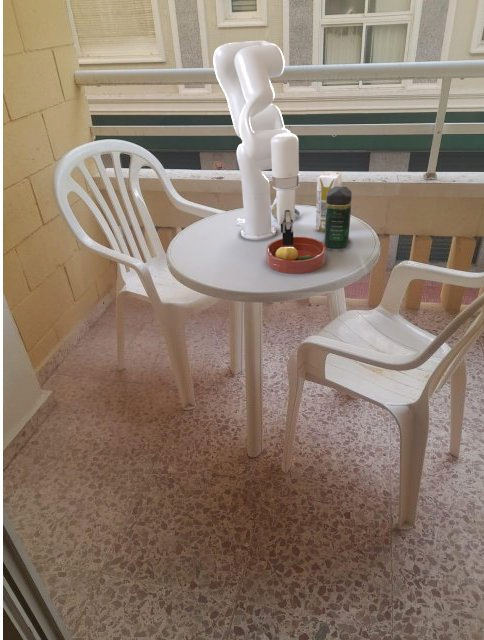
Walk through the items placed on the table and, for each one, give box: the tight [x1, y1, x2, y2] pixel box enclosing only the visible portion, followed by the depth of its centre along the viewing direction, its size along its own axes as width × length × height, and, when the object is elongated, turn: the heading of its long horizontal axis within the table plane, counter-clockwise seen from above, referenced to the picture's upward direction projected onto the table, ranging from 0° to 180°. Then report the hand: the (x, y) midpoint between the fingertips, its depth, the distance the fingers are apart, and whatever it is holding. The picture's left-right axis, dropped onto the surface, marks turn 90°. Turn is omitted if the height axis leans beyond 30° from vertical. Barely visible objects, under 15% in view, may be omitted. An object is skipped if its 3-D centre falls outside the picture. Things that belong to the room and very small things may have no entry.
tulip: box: [276, 247, 315, 261], centre depth 142 cm, size 13×5×4 cm, turn 90°
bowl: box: [265, 235, 327, 275], centre depth 142 cm, size 18×18×4 cm
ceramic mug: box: [271, 197, 301, 220], centre depth 172 cm, size 11×8×8 cm
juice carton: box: [315, 171, 343, 232], centre depth 158 cm, size 8×9×19 cm
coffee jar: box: [323, 186, 353, 250], centre depth 147 cm, size 10×8×19 cm
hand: (287, 238), depth 138 cm, fingers open, 9 cm apart
